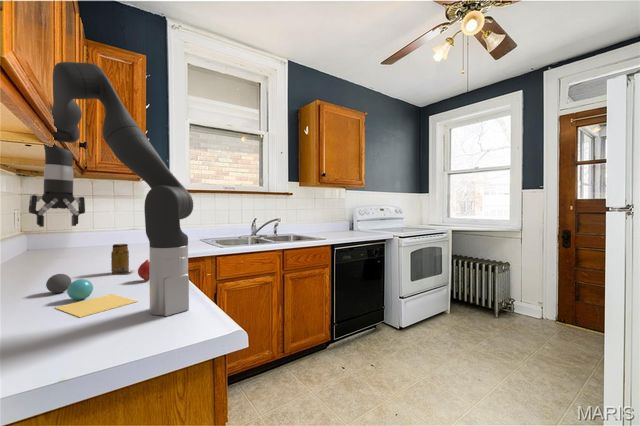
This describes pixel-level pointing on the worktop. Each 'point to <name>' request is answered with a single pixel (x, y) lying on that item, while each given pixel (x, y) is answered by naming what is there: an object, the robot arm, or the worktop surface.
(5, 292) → the worktop surface
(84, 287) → the object ball
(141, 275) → the onion
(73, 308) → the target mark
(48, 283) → the dark gray ball
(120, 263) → the condiment
